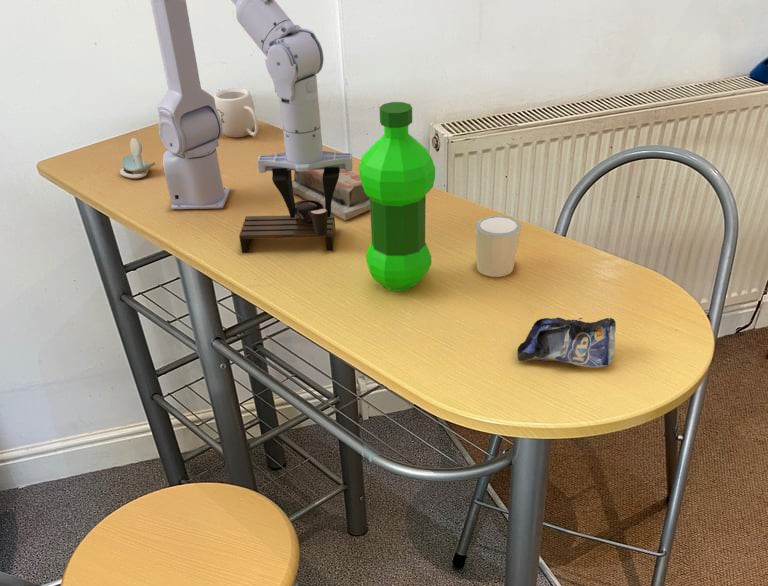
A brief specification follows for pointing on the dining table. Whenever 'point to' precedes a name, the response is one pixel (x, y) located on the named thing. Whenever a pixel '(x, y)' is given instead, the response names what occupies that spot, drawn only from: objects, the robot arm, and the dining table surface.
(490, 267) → the shot glass
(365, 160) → the plastic bottle
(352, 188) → the packaged product
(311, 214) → the heeled mule
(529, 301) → the dining table surface
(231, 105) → the mug
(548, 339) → the snack package
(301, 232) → the slatted bench
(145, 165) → the pacifier
